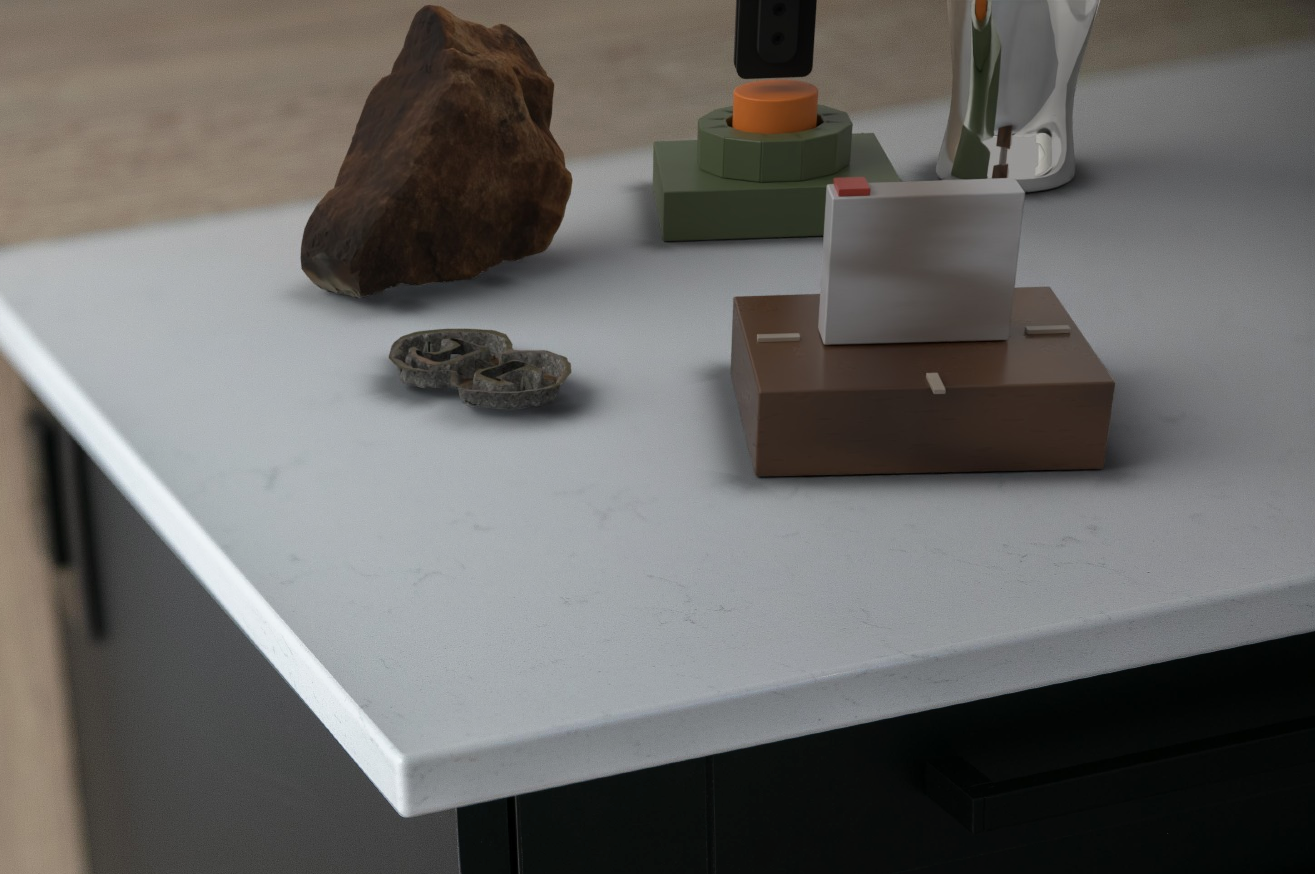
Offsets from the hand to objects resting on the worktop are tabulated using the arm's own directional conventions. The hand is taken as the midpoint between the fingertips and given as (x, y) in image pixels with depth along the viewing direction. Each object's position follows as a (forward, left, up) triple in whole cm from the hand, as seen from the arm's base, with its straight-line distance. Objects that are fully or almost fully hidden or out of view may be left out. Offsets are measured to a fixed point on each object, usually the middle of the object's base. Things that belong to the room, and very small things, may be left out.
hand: (772, 72), depth 86 cm
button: (0, 0, -3) cm, 3 cm away
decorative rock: (+14, +7, -6) cm, 17 cm away
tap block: (-2, +24, -6) cm, 25 cm away
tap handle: (-2, +24, -3) cm, 24 cm away
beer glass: (-11, -4, -6) cm, 13 cm away
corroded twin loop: (+12, +20, -6) cm, 24 cm away
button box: (0, 0, -6) cm, 6 cm away
